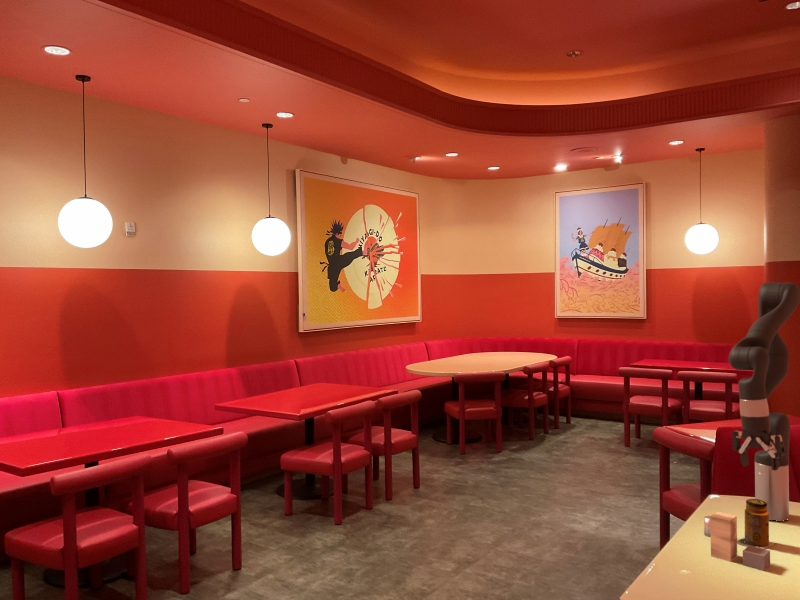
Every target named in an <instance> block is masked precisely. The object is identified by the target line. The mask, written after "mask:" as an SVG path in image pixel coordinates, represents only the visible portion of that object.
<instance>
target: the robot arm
mask: <svg viewBox="0 0 800 600" xmlns="http://www.w3.org/2000/svg"><path fill="white" fill-rule="evenodd" d="M757 297H758V300H757V301H758V302H757V304H758V307H757V309H758V310H757V311H758V316H757V317H758V318H757V319H756V320H755V321H754V322H753V323H752V324H751V325H750V328H749V329H748V331H747V334H746V335H745V337H743V338H741V340H739V341H738V342H737V343H736V344H735V345H734V346H733V347H732V348H731V350H730V351H729V354H728V363H729V365H730V367H731V368H733V369H734V370H737V371H753V373H752V375H751V376H750V377H745V378H741V379H740V380H739V381H738V382H737V383H738V394H739V395H738V397H739V414H740V423H741V429H742V431H740V430H739V429H737V430H734V431H732V432H731V437H732V438H731V439H732V450H733V451H734V452H738V453H739V457H740V463H741V464H742V466H743V467H747V466H750V461H749V453H748V450H749V449H750V448H752V449H753V448H757V449H762V450H757V451H756V452H755V453H754V492H755V493H754V499H759V500H763V501H765V502H766V503H767V511H768V513H769V520H777V521H783V520H787V519H789V520H790V489H789V488H790V486H789V483H790V479H789V458H790V436H791V435H790V434H791V424H790V423H791V421H790V418H789V416H788V415H786V414H784V413H781V412H773V411H769V410H770V409H769V404H768V400H769V398H770V397H771V395H772V393H773V392H774V390H775V389H777V387H778V386H779V385H780V384H781V383H782V382H783V380H784V379H785V378H786V376H787V374H788V371H789V363H790V362H789V361H790V360H789V359H790V352H789V349H788V346H787V345H786V343H785V341H784V340H783V338H782V336H781V335H780V333H779V330H780V328H781V327H782V326H783V325H784V324H785V323H786V322H787V320H788V319H789V318H790V317H791V316H792V315H793V313H794V312H795V311H796V310H797V308H798V306H799V305H800V288H799V286H798V284H797V283H795V282H790V281H789V282H788V281H787V282H786V281H783V282H782V281H780V282H778V281H777V282H775V281H774V282H773V281H772V282H764V283H762V284H761V285H760V287H759V290H758V295H757ZM741 438H742V439H744V442H743V444H742V442H741ZM777 521H776V522H777ZM783 522H784V521H783Z"/></svg>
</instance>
